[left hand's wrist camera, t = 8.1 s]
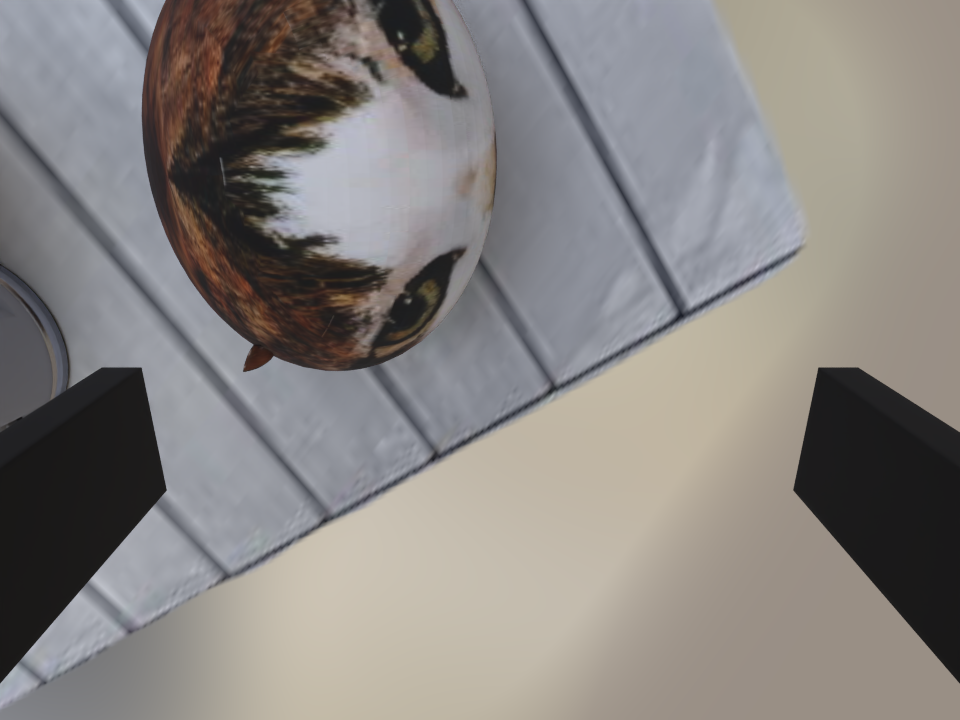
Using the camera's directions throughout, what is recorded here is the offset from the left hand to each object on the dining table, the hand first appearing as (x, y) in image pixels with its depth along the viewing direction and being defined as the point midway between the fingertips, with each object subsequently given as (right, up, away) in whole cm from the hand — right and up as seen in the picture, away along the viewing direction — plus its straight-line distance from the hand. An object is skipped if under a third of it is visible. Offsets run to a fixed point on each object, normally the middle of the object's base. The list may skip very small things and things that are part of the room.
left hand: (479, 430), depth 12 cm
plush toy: (-8, +15, +28) cm, 33 cm away
